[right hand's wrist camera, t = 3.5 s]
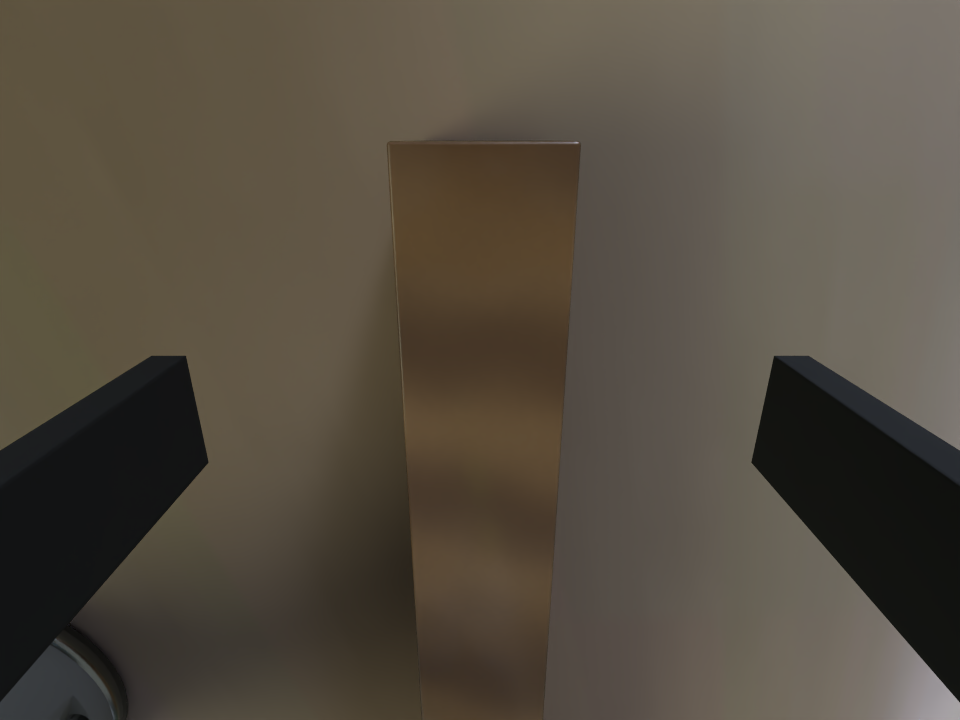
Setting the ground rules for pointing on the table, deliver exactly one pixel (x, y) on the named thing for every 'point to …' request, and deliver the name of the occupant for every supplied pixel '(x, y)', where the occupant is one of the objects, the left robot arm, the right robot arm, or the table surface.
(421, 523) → the bar
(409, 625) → the table surface
